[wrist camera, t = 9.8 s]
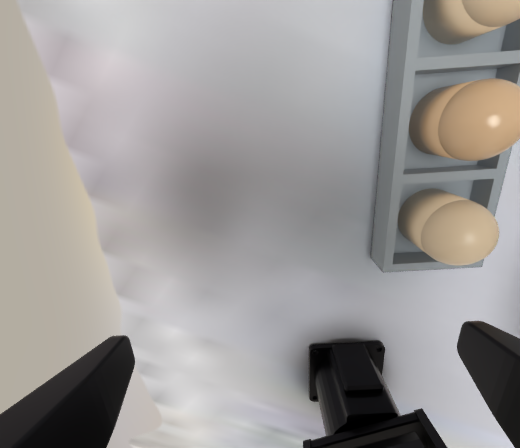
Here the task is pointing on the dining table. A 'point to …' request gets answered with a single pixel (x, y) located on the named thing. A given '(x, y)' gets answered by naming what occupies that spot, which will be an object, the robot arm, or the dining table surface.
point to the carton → (431, 166)
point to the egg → (467, 120)
